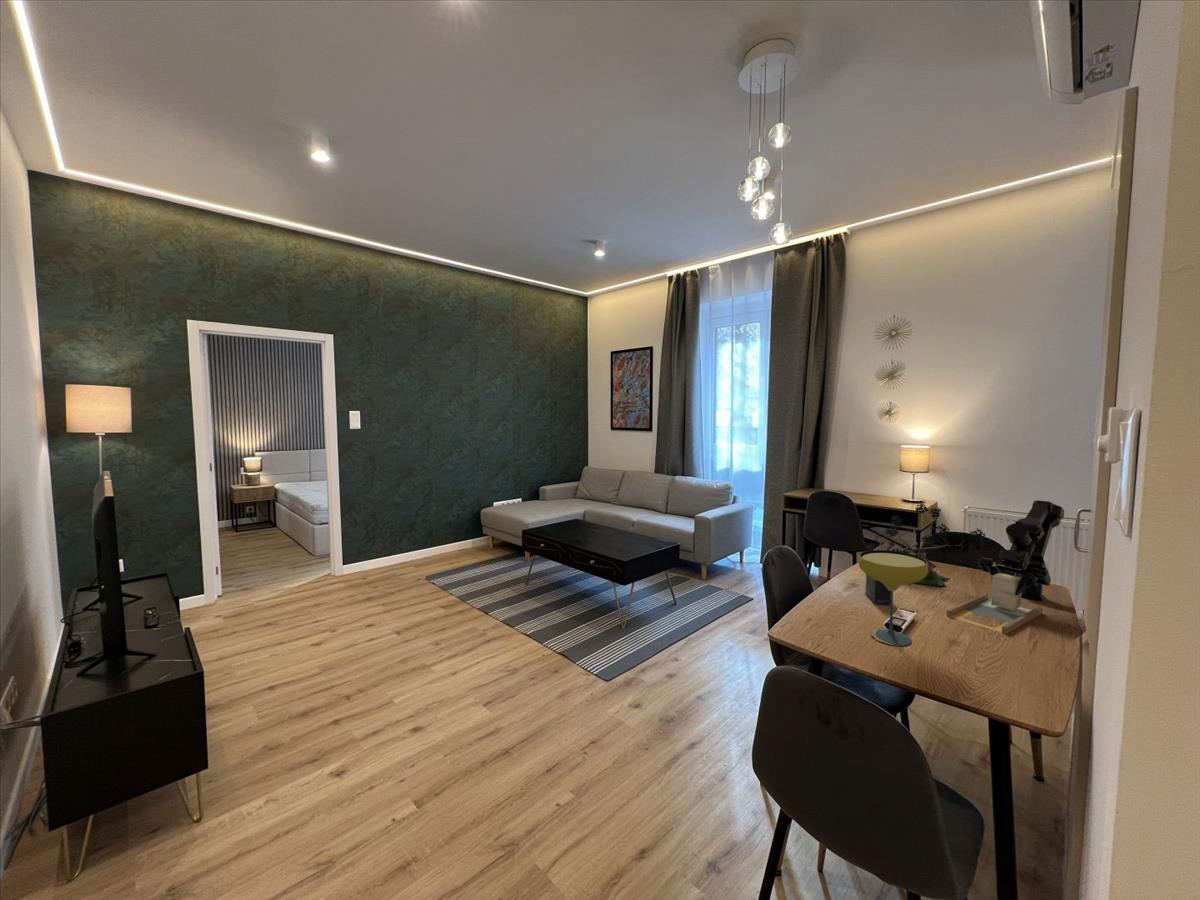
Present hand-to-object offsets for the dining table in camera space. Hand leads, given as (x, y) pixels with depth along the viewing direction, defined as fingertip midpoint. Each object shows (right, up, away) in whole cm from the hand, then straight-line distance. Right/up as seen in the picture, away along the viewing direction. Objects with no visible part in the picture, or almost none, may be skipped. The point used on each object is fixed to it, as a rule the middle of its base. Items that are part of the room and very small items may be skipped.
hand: (1004, 591), depth 164 cm
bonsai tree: (-4, -6, +31) cm, 32 cm away
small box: (-33, -8, +15) cm, 38 cm away
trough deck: (-6, -8, -3) cm, 11 cm away
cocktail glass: (-47, -10, -14) cm, 50 cm away
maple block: (+1, -5, +1) cm, 5 cm away
